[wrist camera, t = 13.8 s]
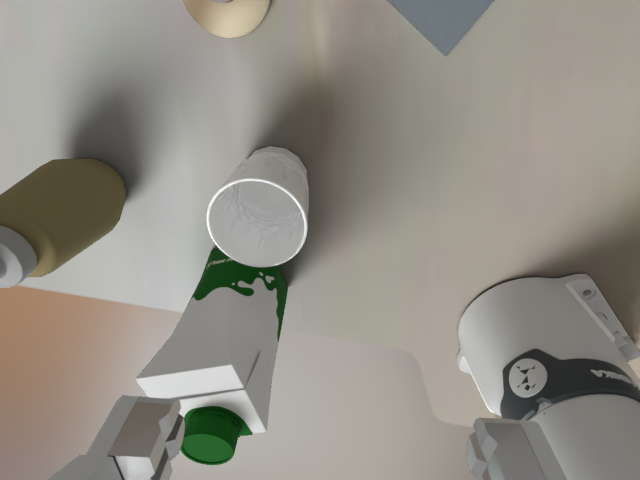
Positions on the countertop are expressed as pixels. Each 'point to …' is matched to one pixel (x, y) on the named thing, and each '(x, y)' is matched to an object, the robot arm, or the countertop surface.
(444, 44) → the grey plate with knob
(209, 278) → the milk carton
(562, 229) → the countertop surface
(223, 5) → the stand
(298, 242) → the white cup
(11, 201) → the squeeze bottle
